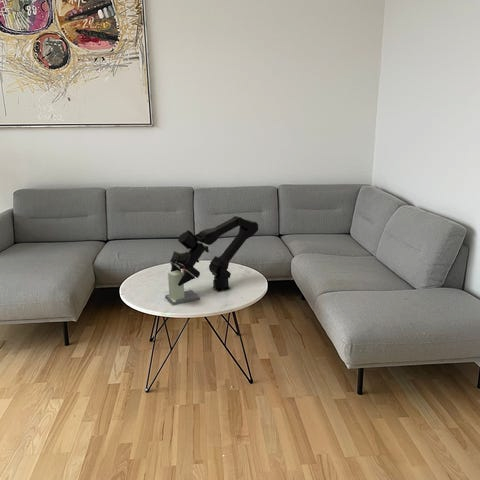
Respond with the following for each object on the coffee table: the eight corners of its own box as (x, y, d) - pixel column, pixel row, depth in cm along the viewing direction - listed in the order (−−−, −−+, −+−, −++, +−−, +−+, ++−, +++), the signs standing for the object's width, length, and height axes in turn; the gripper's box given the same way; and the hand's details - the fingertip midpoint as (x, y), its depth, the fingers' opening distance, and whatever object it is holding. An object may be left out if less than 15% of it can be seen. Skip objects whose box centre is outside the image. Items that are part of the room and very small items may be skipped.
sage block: (179, 294, 205) (177, 270, 202) (184, 298, 202) (183, 273, 198) (169, 297, 203) (167, 272, 199) (174, 300, 199) (173, 275, 196)
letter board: (191, 292, 212) (191, 289, 212) (199, 299, 203) (199, 296, 203) (165, 297, 206) (165, 294, 206) (172, 305, 198) (172, 302, 197)
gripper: (172, 240, 205) (152, 267, 202) (192, 249, 191) (171, 279, 187) (188, 253, 212) (168, 280, 209) (209, 263, 197) (188, 292, 194)
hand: (173, 282), depth 199 cm, fingers open, 9 cm apart
